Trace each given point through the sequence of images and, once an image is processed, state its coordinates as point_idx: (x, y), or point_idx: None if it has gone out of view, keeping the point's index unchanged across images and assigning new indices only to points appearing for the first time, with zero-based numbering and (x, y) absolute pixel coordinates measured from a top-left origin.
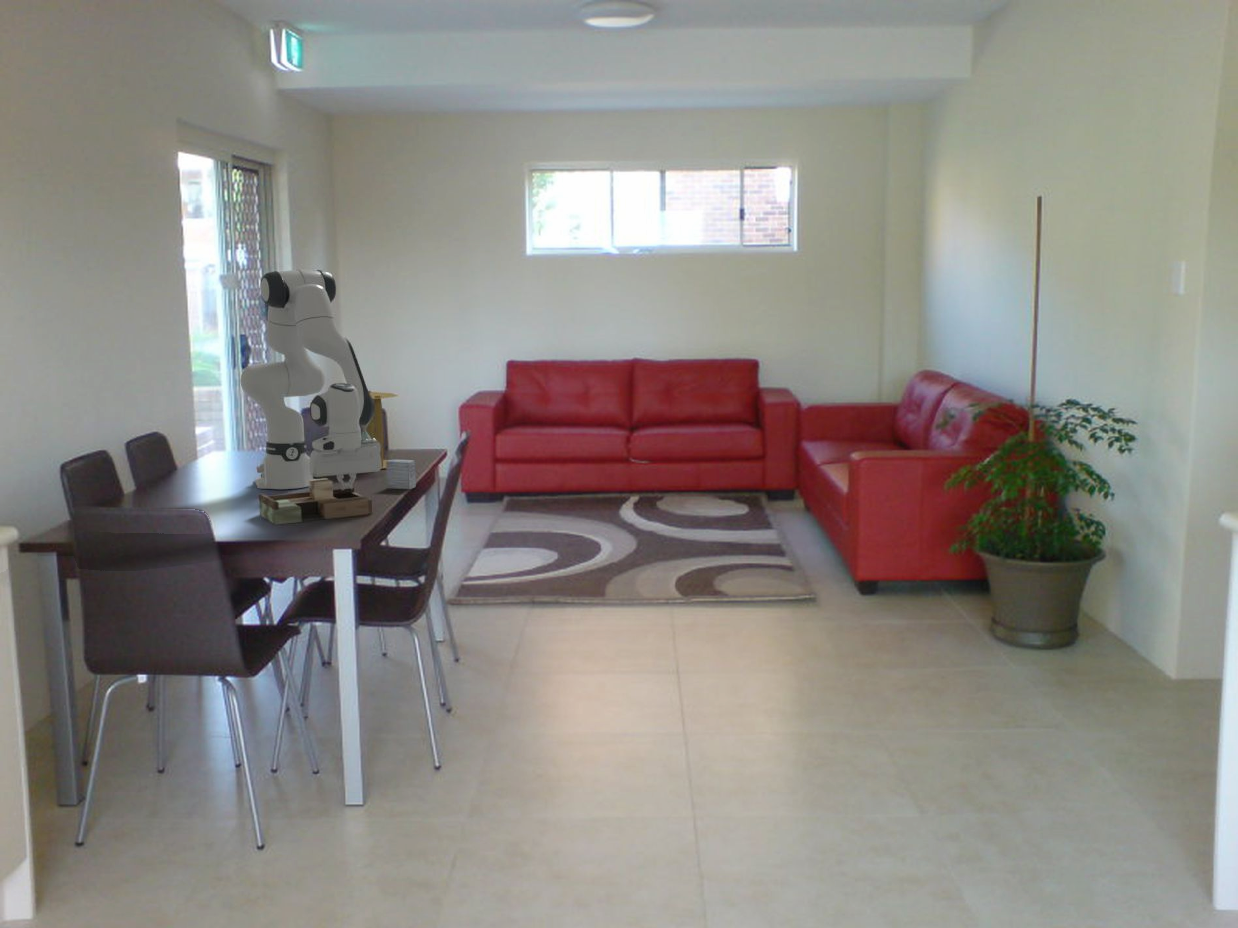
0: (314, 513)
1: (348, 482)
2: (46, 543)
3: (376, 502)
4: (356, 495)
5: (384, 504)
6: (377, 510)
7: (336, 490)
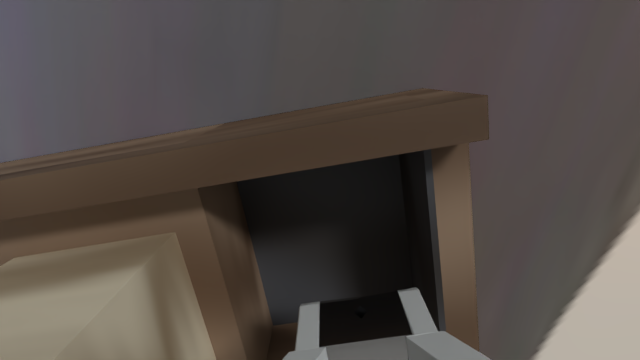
0: None
1: (407, 344)
2: None
3: (618, 51)
4: (435, 300)
5: (634, 156)
6: (510, 326)
7: (268, 174)
